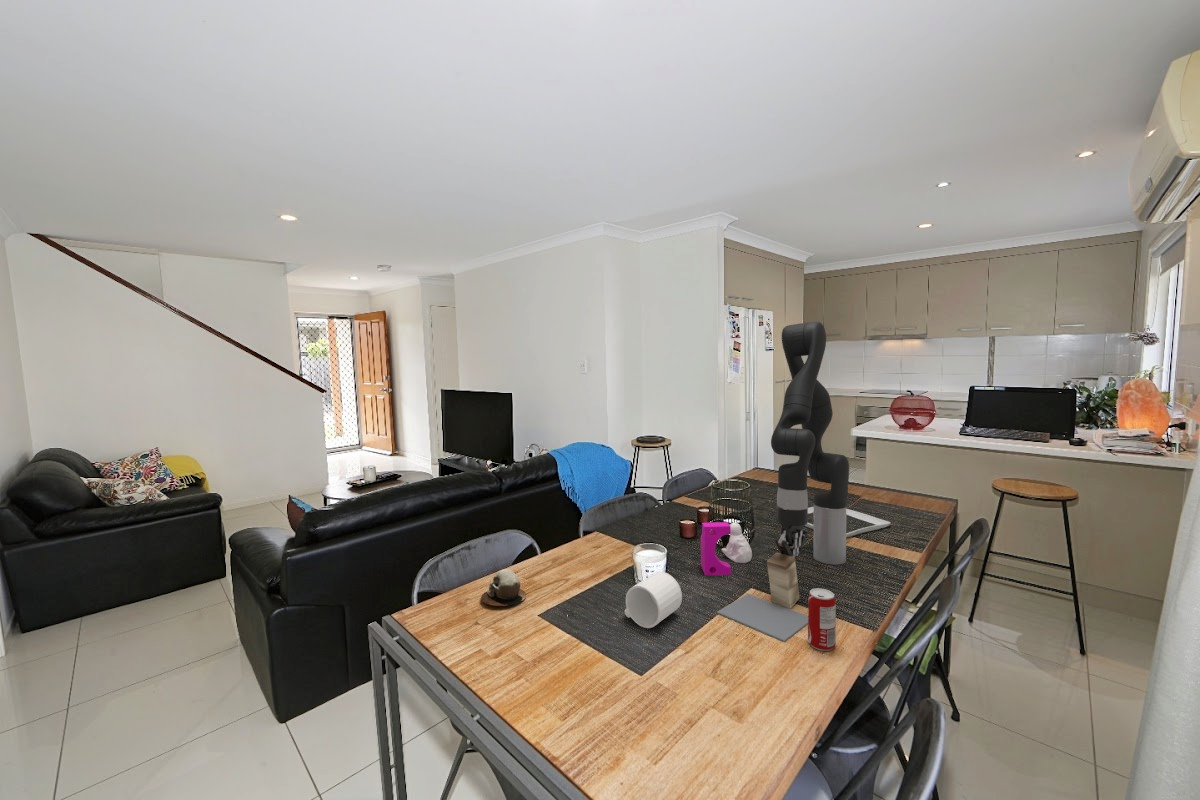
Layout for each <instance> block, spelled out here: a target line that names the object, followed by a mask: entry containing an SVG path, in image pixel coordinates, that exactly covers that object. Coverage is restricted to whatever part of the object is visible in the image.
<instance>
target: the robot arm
mask: <svg viewBox="0 0 1200 800" xmlns="http://www.w3.org/2000/svg"><path fill="white" fill-rule="evenodd" d="M824 326H825V325H823V323H822V322H821V321H808V322H801V323H796V324H795V323H794V324H789V325H786V326H784V327H783V329H782V331H781V344H782V349H783V352H784V356H785V360H786V363H787V366H788V369H789V372H790V376H791V379H792V380H791V381H790V382H789V384H788V385H787V388H786V390H785V393H784V397H783V404H782V405H783V407H782V412H781V415H780V418H779V420H778V423H777V425H776V426H775V429H774V431H773V432H772V434H771V439H770V446H771V449H772V450H773V452H774V453H775V454H776V455H782V456H795V457H798V460H797V461H796V462H791V463H784V464H781V465H780V466H779V467H778V470H777V474H778V475H777V486H778V487H777V492H776V494H777V495H776V521H777V522H778V523H779V524H780V525H781V529H780V538H776V539H775V544H776V546H777V548H778V550H779V553H781V554H785V555H788V556H792V557H795V563H796V570H797V569H798V557H799V554H800V553H802V550H803V548H804V544H805V542H806V539H807V536H808V530H805V529H804V527H805V526H804V525H806V524H807V523H809V519H808V518H809V516H808V515H809V514H808V508H809V497H808V475H809V477H810V479H812V480H813V481H815V482H819V483H825V484H830V490H828V491H827V490H826V491H821V492H818V493H815V494H814V496H813V507H814V512H813V525H814V530H813V545H812V546H813V550H812V551H813V555H812V556H813V559H814V560H815V561H817V562H819V563H823V564H826V565H834V566H835V565H836V566H839V565H843V564H846V562H847V537H846V534H847V514H846V509H847V500H848V495H849V481H850V479H849V478H850V461H849V459H848V458H847V456H846V455H843V454H841V453H840V454H839V453H832V452H830V453H829V452H825V451H824V450H823V449H822V439H823V436H824V434H825V432H826V431H827V429H828V428H829V426H830V423H831V422H832V419H833V413H834V412H833V408H832V402H831V396H830V393H829V391H828V390H827V389H826V387H825V386H824V385H823V384H822V383H821V381H819V380H818V375H819V371H820V370H821V365H822V362H823V358H824V356H825V355H824V354H825V351H826V345H827V334H826V328H825V327H824ZM806 356H807V358H806V361H805V362H804V360H803V357H806ZM797 425H801V428H795V426H797ZM792 427H793V428H792ZM799 552H800V553H799Z"/></svg>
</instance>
